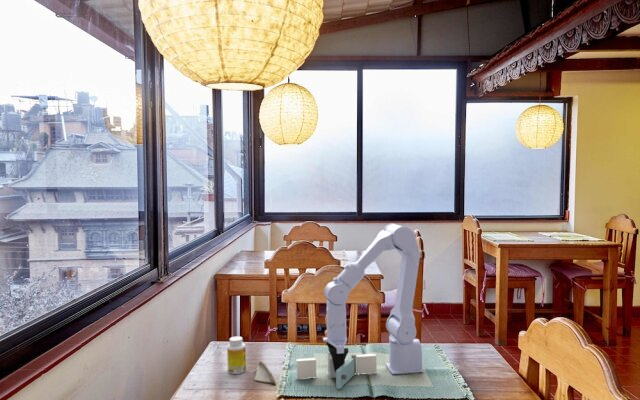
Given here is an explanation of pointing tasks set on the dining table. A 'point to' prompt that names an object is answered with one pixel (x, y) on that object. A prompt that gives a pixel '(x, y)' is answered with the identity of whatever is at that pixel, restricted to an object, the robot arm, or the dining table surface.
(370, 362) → the frame
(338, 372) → the door
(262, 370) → the ceramic fragment
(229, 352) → the supplement bottle
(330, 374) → the pale grey block
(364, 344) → the dining table surface
